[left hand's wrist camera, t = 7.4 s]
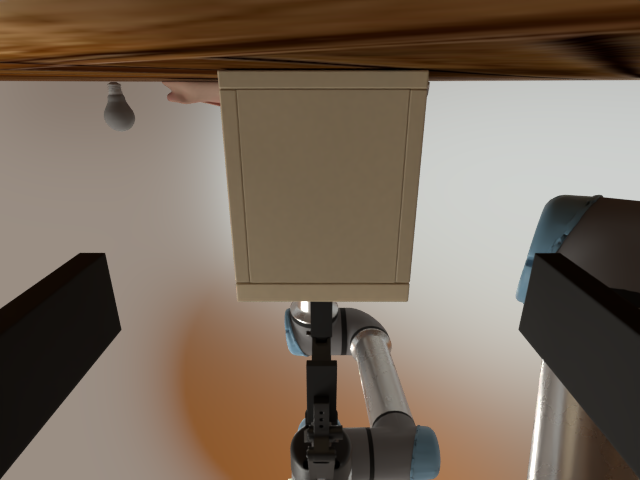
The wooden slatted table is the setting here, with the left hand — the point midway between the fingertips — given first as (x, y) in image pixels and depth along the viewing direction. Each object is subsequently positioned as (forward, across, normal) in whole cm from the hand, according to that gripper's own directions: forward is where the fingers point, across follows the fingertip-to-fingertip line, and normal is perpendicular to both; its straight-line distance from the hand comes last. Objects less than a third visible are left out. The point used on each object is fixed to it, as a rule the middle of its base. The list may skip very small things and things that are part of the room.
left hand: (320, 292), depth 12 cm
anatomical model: (+49, +16, -7) cm, 52 cm away
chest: (+18, 0, -7) cm, 19 cm away
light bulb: (+79, +43, -7) cm, 90 cm away
